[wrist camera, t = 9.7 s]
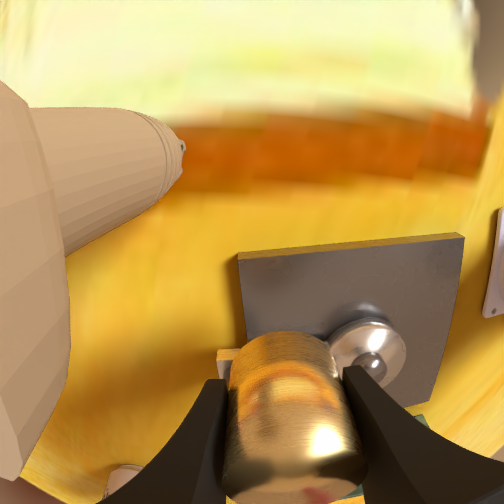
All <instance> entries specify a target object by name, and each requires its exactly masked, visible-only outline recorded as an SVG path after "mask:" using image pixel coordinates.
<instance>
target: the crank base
mask: <svg viewBox="0 0 504 504" xmlns="http://www.w3.org/2000/svg"><path fill="white" fill-rule="evenodd" d="M464 240H465V237H463V236H462V235H460V234H458V233H456V232H454V233H443V234H433V235H422V236H411V237H401V238H390V239H379V240H369V241H358V242H347V243H337V244H326V245H315V246H305V247H294V248H283V249H273V250H262V251H251V252H241V253H238V259H237V260H238V268H239V276H240V284H241V293H242V301H243V309H244V316H245V324H246V332H247V340H248V343H249V342H250V341H252V340H253V339H255V338H257V337H259V336H262V335H265V334H268V333H272V332H278V331H298V332H303V333H307V334H310V335H312V336H314V337H316V338H318V339H320V340H321V341H322V342H324V341H327V339H328V338H329V337H330V336H331V335H332V334H333V333H334V332H335V331H336V330H337V329H339V328H340V327H342V326H343V325H345V324H347V323H349V322H351V321H354V320H357V319H361V318H368V317H373V318H380V319H383V320H385V321H387V322H389V323H390V324H392V325H393V327H394V328H395V329H396V331H397V332H398V334H399V335H400V337H401V338H402V340H403V341H404V343H405V346H406V359H405V362H404V365H403V367H402V369H401V370H400V372H399V373H398V375H397V376H396V377H395V378H394V379H393V380H392V381H391V382H390V383H389V384H387V385H386V386H385V387H383V388H382V389H383V390H384V391H385V392H386V393H387V394H389V395H390V396H391V397H392V398H393V399H394V400H395V401H396V402H397V403H398V404H399V405H400V406H401V407H403V408H405V407H408V406H412V405H416V404H420V403H423V402H427V401H429V399H430V396H431V393H432V390H433V387H434V384H435V381H436V378H437V374H438V371H439V368H440V364H441V361H442V357H443V353H444V350H445V346H446V342H447V338H448V334H449V329H450V325H451V320H452V316H453V311H454V306H455V301H456V296H457V290H458V284H459V278H460V272H461V265H462V257H463V249H464Z"/></svg>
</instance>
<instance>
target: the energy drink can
mask: <svg viewBox="0 0 504 504" xmlns="http://www.w3.org/2000/svg"><path fill="white" fill-rule="evenodd" d="M143 468H144V467H141V466H137V465H129V464H128V465H121V466H119V467H118V469H116V470H113V471H112V472H111V473H110V476H109V479H108V482H107V485H106V488H105V491H104V495H103V498H102V500H103V499H105V498H106V497H108V496H109V495H111V494H112V493H114V492H115V491H116V490H118V489H119V488H120V487H122V486H123V485H124V484H126V483H127V482H128V481H130V480H131V479H132V478H133V477H134V476H136V475H137V474H138V473H139V472H140V471H141V470H142V469H143Z"/></svg>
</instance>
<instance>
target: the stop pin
mask: <svg viewBox="0 0 504 504" xmlns="http://www.w3.org/2000/svg"><path fill="white" fill-rule="evenodd" d="M368 470H369V467H368V462H367V459H366V456H365V452H364V449H363V446H362V442H361V439H360V436H359V433H358V430H357V426H356V423H355V420H354V417H353V414H352V411H351V408H350V404H349V401H348V398H347V395H346V392H345V389H344V386H343V383H342V380H341V377H340V374H339V371H338V368H337V365H336V362H335V359H334V357H333V354H332V352H331V350H330V349H329V347H328V346H327V345H326V344H325V343H324V342H322V341H321V340H320V339H318V338H316V337H314V336H312V335H310V334H307V333H303V332H298V331H278V332H272V333H268V334H265V335H262V336H259V337H257V338H255V339H253V340H252V341H250V342H249V343H247V344H246V345H245V346H243V347H242V348H241V349H240V350H239V352H238V353H237V354H236V356H235V357H234V359H233V362H232V365H231V370H230V383H229V395H228V408H227V421H226V434H225V448H224V462H223V476H222V488H223V491H224V492H225V494H226V495H227V496H228V497H229V498H230V499H232V500H233V501H235V502H237V503H239V504H329V503H331V502H334V501H336V500H338V499H340V498H342V497H344V496H346V495H348V494H349V493H351V492H352V491H354V490H355V489H356V488H357V487H358V486H359V485H360V484H361V483H362V482H363V481H364V480H365V478H366V476H367V474H368Z"/></svg>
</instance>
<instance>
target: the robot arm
mask: <svg viewBox="0 0 504 504" xmlns="http://www.w3.org/2000/svg"><path fill="white" fill-rule="evenodd" d="M500 314H504V207H502V208H501V209H500V210H499V213H498V221H497V231H496V239H495V247H494V254H493V260H492V266H491V272H490V278H489V283H488V288H487V293H486V297H485V302H484V306H483V310H482V315H483V316H484V317H485V318H490V317H493V316H497V315H500ZM342 383H343V386H344V389H345V392H346V395H347V398H348V401H349V404H350V408H351V411H352V414H353V417H354V420H355V423H356V426H357V430H358V433H359V436H360V439H361V442H362V446H363V449H364V452H365V456H366V459H367V462H368V467H369V470H368V474H367V476H366V478H365V480H364V481H363V482H362V483H361V484H362V489H363V494H364V499H365V504H504V462H501V461H497V460H494V459H491V458H488V457H484V456H482V455H479V454H477V453H474V452H472V451H469V450H467V449H465V448H463V447H461V446H459V445H457V444H455V443H453V442H451V441H449V440H447V439H445V438H444V437H442V436H440V435H439V434H437V433H435V432H434V431H432V430H431V429H429V428H428V427H427V426H425V425H424V424H422V423H421V422H420V421H418V420H417V419H416V418H414V417H413V416H412V415H411V414H410V413H408V412H407V411H406V410H405V409H404V408H403V407H401V406H400V405H399V404H398V403H397V402H396V401H395V400H394V399H393V398H392V397H391V396H390V395H389V394H387V393H386V392H385V391H384V390H383V389H382V388H381V386H380V385H379V384H378V383H377V382H376V381H375V380H374V379H373V378H372V377H371V376H370V375H369V374H368V373H367V372H366V370H365V369H364V368H363V367H362V366H361V365H354V366H347V367H343V372H342ZM228 395H229V393H228V389H227V384H226V379H208V380H207V381H206V382H205V384H204V386H203V388H202V390H201V392H200V394H199V396H198V398H197V399H196V401H195V403H194V405H193V406H192V408H191V410H190V411H189V413H188V414H187V416H186V417H185V419H184V420H183V422H182V423H181V425H180V426H179V428H178V429H177V430H176V432H175V433H174V434H173V436H172V437H171V438H170V440H169V441H168V442H167V443H166V445H165V446H164V447H163V448H162V449H161V451H160V452H159V453H158V454H157V455H156V456H155V457H154V458H153V459H152V460H151V461H150V462H149V463H148V464H147V465H146V466H145V467H144V468H143V469H142V470H141V471H140V472H139V473H138V474H137V475H136V476H134V477H133V478H132V479H131V480H130V481H128V482H127V483H126V484H124V485H123V486H122V487H120V488H119V489H118V490H116V491H115V492H114V493H112V494H111V495H109V496H108V497H106V498H105V499H103V500H102V501H100V502H98V503H96V504H226V494H225V492H224V491H223V488H222V476H223V462H224V448H225V434H226V421H227V408H228Z"/></svg>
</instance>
